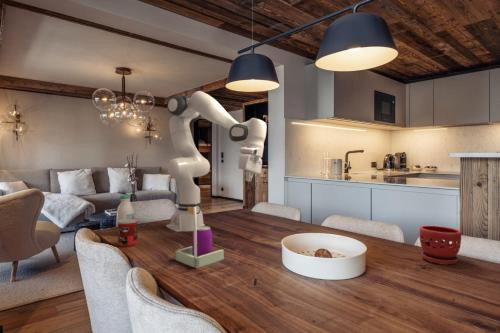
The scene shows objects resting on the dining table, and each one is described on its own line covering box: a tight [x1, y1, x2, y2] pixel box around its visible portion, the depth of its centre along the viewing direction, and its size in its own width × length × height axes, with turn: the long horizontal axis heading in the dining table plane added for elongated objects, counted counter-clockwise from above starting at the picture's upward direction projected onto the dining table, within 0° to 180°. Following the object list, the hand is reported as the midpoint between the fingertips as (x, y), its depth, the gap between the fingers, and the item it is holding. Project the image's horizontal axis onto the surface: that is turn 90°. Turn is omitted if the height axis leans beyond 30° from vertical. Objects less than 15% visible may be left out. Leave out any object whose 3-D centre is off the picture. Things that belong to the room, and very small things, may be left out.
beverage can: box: [191, 225, 213, 257], centre depth 118 cm, size 8×8×12 cm
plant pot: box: [419, 225, 462, 265], centre depth 113 cm, size 13×13×12 cm
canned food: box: [117, 218, 138, 248], centre depth 137 cm, size 8×8×11 cm
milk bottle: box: [117, 194, 135, 222], centre depth 156 cm, size 8×8×20 cm
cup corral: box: [174, 207, 225, 269], centre depth 117 cm, size 13×13×22 cm
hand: (248, 181), depth 143 cm, fingers closed
